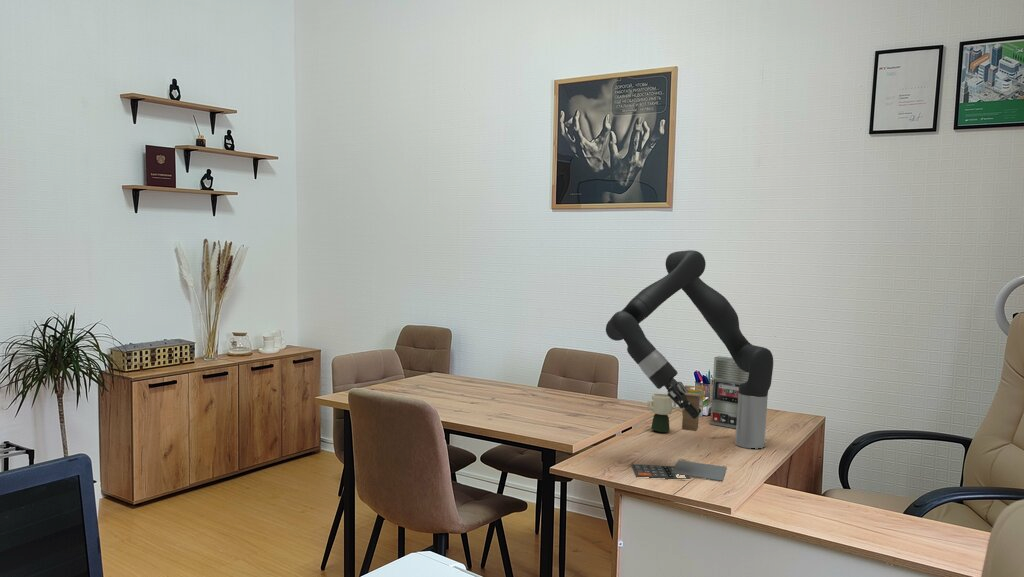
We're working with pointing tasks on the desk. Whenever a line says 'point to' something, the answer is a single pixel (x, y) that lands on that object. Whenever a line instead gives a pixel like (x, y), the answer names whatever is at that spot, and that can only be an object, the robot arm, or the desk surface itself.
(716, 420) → the cassette tape recorder
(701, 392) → the crayon box
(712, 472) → the mat
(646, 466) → the calculator
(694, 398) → the block
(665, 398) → the character mug
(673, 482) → the desk surface
